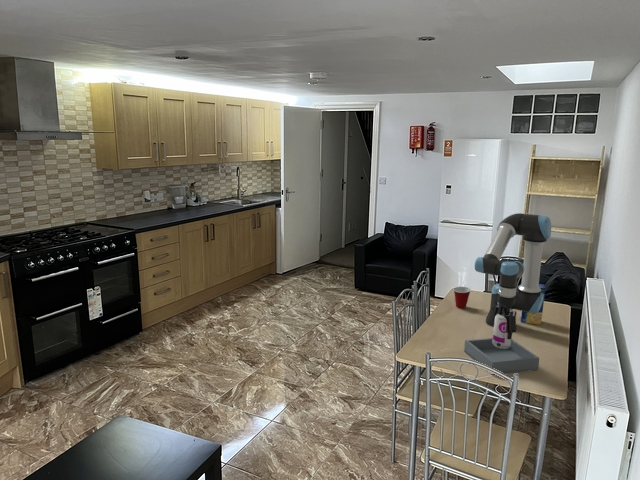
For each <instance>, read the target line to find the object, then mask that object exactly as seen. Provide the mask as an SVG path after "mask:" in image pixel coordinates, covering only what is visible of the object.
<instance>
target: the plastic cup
mask: <svg viewBox="0 0 640 480" xmlns="http://www.w3.org/2000/svg"><path fill="white" fill-rule="evenodd" d="M452 291H453V292H454V293H453V294H454V301H455V307H456V308H457V307H458V308H457V309H461V308H463V309H466V308H467V304H468V301H469V296H470V294H471V291H472V289H471V288H470V287H467V286H455V287H453V288H452ZM465 307H466V308H465Z"/></svg>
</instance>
